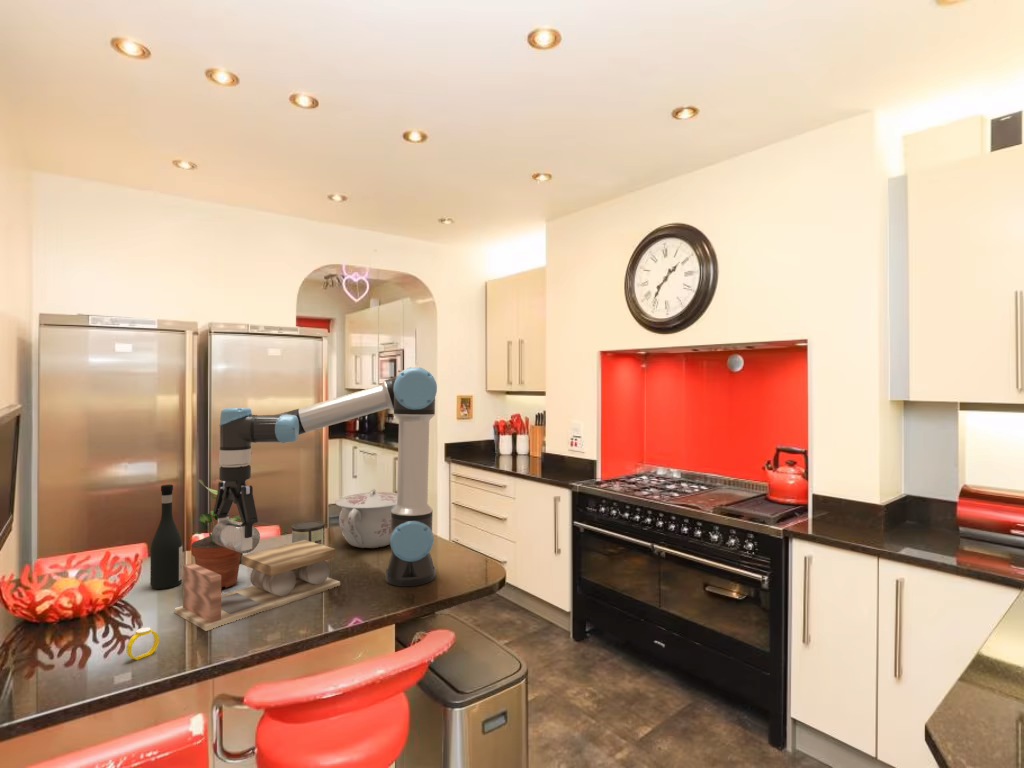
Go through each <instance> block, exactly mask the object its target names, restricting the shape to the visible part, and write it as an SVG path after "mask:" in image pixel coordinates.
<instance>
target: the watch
mask: <svg viewBox="0 0 1024 768" xmlns="http://www.w3.org/2000/svg"><path fill="white" fill-rule="evenodd" d="M150 633H151V634H152V635H153V639H154V640H153V643H152V646H151V648H149V649H148V651H147V652H144V653H142V654H140V655H136V656H134V655H133V653H132V647H133V644H134V643H135V641H136V640H137V638H139V637H140V636H146V635H148V634H150ZM159 643H160V637H159V634H158V633H157V632H156V631H155V630H152V628H151V627H141V628H138V629H137V630H135V633H134V634H133V635H132V636H131V637H130V638H129V640H128V642H127V643H126V651H125V652H126V655H127V656H128V657H129V658H130V659H133V660H136V661H138V660H140V659H143V658H147V657H149V656H151V655H152V654H154V652H155V651H156V650H157V647H158V645H159Z"/></svg>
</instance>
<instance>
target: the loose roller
mask: <svg viewBox="0 0 1024 768" xmlns="http://www.w3.org/2000/svg"><path fill="white" fill-rule="evenodd" d="M241 524H242V522H241V523H240V522H239V521H233V520H228V519H227V520H222V521H220V522H219V523H218V522H217V523H216V524H215V527H214V529H213V528H212V532H211V535H212V539H213V541H214V542H215V543H216V544H218V545H220V546H223V547H226V548H228V549H231V550H234V551H237V552H239V553H243V554H249V553H252V551H254V550H255V549H256V547H258V545H259V543H260V540H261V539H260V538H261V535H260V532H259V529H258V528H257V527H255V526H254V525H252V549H249V550H245V551H241V526H240V525H241Z"/></svg>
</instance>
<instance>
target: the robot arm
mask: <svg viewBox="0 0 1024 768" xmlns="http://www.w3.org/2000/svg"><path fill="white" fill-rule="evenodd" d="M381 383H382V384H379V385H376V386H372V387H368V388H366V389H363V390H358V391H355V392H352V393H349V394H345V395H341V396H338V397H334V398H332V399H331V398H330V399H327V400H324V401H320V402H317V403H316V402H315V403H313V404H310V405H307V406H302V407H300V408H296V409H292V410H289V411H285V412H281V413H278V414H276V413H275V414H259V415H258V414H253V412H252V409H251V408H250V407H225V408H223V409H222V410H221V411H220V419H219V425H218V426H219V452H218V453H219V454H218V455H219V458H218V459H219V461H218V462H219V463H218V464H219V465H220V467H219V471H218V473H219V480H220V481H218V485H217V486H218V487H217V491H218V492H217V495H216V497H217V498H216V499H215V503H214V508H213V514H214V515H215V514H216V516H217V518H218V520H217V523H219V522H220V521H222V520H227V519H228V520H229V519H230V517H231V515H230V513H229V512H230V510H231V508H232V505H233V504H235V505H236V507H237V510H238V513H239V514H238V515H239V516H240V517H241V520H242V521H241V520H240V521H241V523H242V524H241V525H240V526H241V551H245V550H249V549H252V526H254V524H257V523H259V520H258V514H257V510H256V505H255V504H256V503H255V500H254V498H255V497H254V495H253V493H254V492H253V491H254V490H253V485H247V484H246V481H247V480H250V478H251V476H252V473H251V472H252V470H251V469H252V466H251V465H250V464H251V461H252V460H251V458H252V456H251V455H252V452H253V451H252V449H251V448H252V443H255V444H257V443H282V444H284V443H293V442H296V441H297V440H298V437H299V435H303V434H306V433H308V432H312V431H316V430H318V429H319V430H320V429H323V428H326V427H329V426H332V425H337V424H340V423H343V422H347V421H350V420H353V419H356V418H360V417H363V416H367V415H370V414H374V413H377V412H381V411H384V410H388V409H390V410H392V411H393V416H395V418H396V419H397V420H398V445H397V449H398V451H397V485H396V486H397V488H396V489H397V490H396V491H397V492H396V493H397V504H396V505H394V506H393V507H392V510H391V537H390V544H389V545H390V549H391V556H390V558H389V562H388V567H387V568H386V571H385V581H386V583H388V584H390V585H392V586H397V587H414V586H420V585H425V584H427V583H430V582H432V581H433V580H435V578H436V568H435V565H434V563H433V558H432V556H431V553H430V552H431V550H432V547H433V545H434V539H435V538H434V534H433V508H432V507H431V506H430V505H429V503H428V500H429V499H428V494H429V493H428V492H429V489H428V488H429V454H430V453H429V450H430V448H429V447H430V446H429V445H430V421H431V419H432V418H434V416H435V415H436V396H437V392H438V385H437V381H436V378H435V377H434V375H433V374H432V373H431V372H430V371H428V370H427V369H425V368H422V367H418V366H415V367H406V368H405V369H403V370H402V371H400V372H399V373H398V375H397V376H396V375H395V377H392V378H388V379H385V380H383V382H381Z"/></svg>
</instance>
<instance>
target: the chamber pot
mask: <svg viewBox="0 0 1024 768" xmlns="http://www.w3.org/2000/svg"><path fill="white" fill-rule="evenodd" d="M334 504H335V505H336V506H337V507H340V508H341V510H340V512H339V515H338V519H339V520H338V524H339V528H340V532H341V535H342V536H343V538H344V539H345V541H346V543H348V544H349V545H350V546H351V547H356V548H359V549H364V548H372V549H379V547H380V548H384V547H387V546H388V545H390V537H391V510H392V507H393V506H394V505H396V504H397V492H386V491H377V490H376V489H375V488H372V489H371V490H370V491H369V492H360V493H356V494H355V493H354V494H351V495H350V494H349V495H347V496H343V497H340V498H338V499H336V500H335V503H334Z"/></svg>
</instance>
